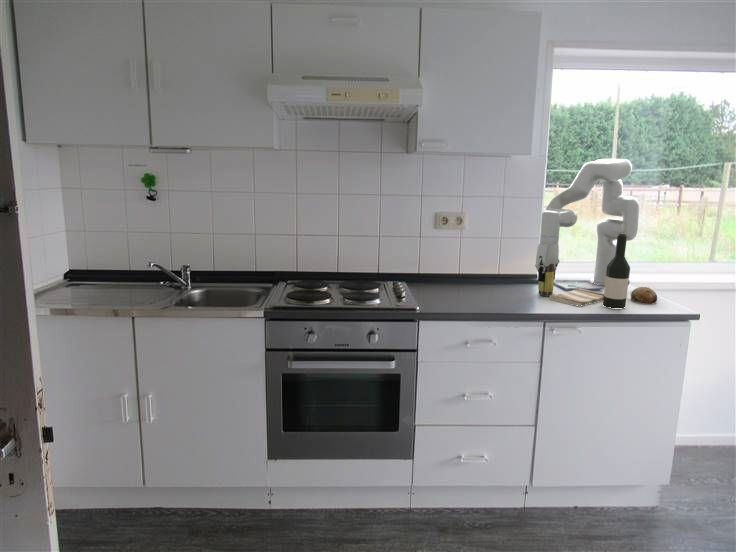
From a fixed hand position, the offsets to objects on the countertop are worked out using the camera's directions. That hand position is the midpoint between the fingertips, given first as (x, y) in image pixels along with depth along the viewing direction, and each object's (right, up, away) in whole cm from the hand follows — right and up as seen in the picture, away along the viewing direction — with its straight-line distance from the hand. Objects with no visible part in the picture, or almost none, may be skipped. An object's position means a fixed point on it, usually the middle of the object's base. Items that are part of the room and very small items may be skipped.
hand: (546, 279), depth 221 cm
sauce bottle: (0, -7, +2) cm, 7 cm away
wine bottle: (+22, -11, -15) cm, 29 cm away
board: (+13, -8, -4) cm, 16 cm away
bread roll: (+39, -9, -6) cm, 41 cm away
